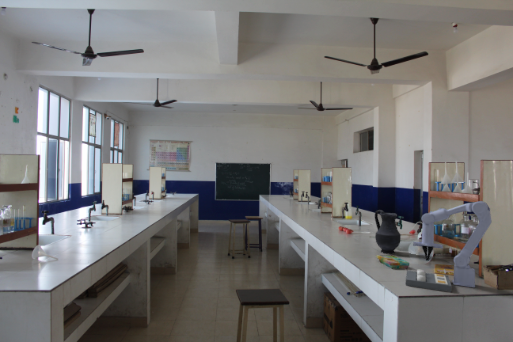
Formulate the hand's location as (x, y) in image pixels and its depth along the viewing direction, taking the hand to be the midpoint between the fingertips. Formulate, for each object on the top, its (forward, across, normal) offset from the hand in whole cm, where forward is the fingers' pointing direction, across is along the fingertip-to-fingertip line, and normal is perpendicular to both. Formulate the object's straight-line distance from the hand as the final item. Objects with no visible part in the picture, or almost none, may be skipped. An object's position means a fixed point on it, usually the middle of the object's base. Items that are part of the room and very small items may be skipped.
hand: (427, 260), depth 193 cm
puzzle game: (+10, -19, +21) cm, 30 cm away
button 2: (+9, -3, -18) cm, 21 cm away
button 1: (+9, -3, -5) cm, 11 cm away
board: (+9, 0, -12) cm, 15 cm away
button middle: (+8, -3, -12) cm, 15 cm away
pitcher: (+10, -26, +61) cm, 67 cm away
